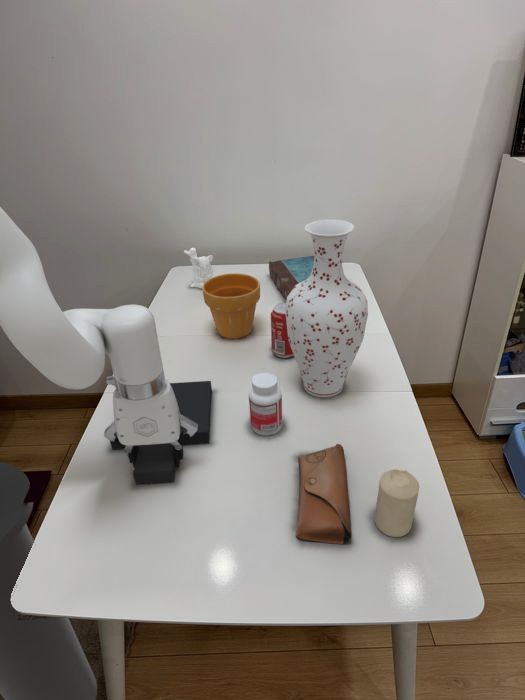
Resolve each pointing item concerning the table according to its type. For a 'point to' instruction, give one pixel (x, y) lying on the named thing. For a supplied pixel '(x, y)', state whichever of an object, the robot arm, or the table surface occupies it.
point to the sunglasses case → (324, 497)
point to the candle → (396, 502)
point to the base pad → (193, 408)
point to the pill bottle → (265, 404)
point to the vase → (326, 313)
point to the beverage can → (280, 332)
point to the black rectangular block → (154, 464)
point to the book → (290, 272)
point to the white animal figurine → (200, 268)
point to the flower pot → (232, 303)
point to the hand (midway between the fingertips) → (157, 462)
